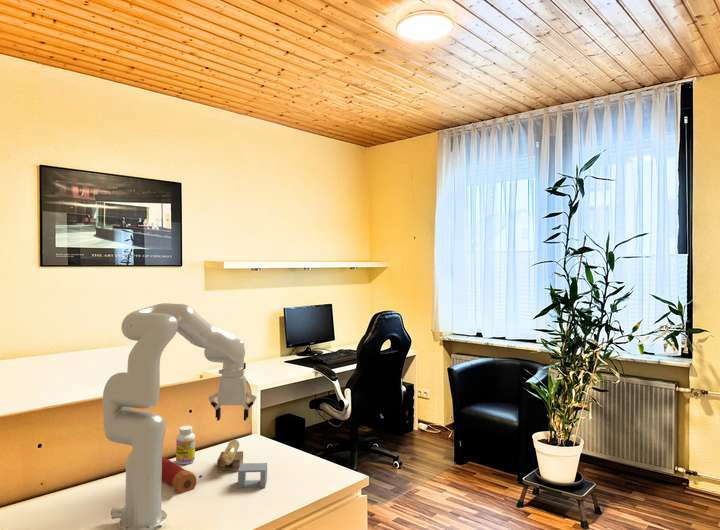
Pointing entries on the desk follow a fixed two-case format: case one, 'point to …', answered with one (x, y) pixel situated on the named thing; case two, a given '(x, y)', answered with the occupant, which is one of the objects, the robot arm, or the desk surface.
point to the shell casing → (177, 477)
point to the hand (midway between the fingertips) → (232, 419)
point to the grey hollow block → (252, 468)
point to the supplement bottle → (185, 445)
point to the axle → (230, 452)
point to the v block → (234, 465)
